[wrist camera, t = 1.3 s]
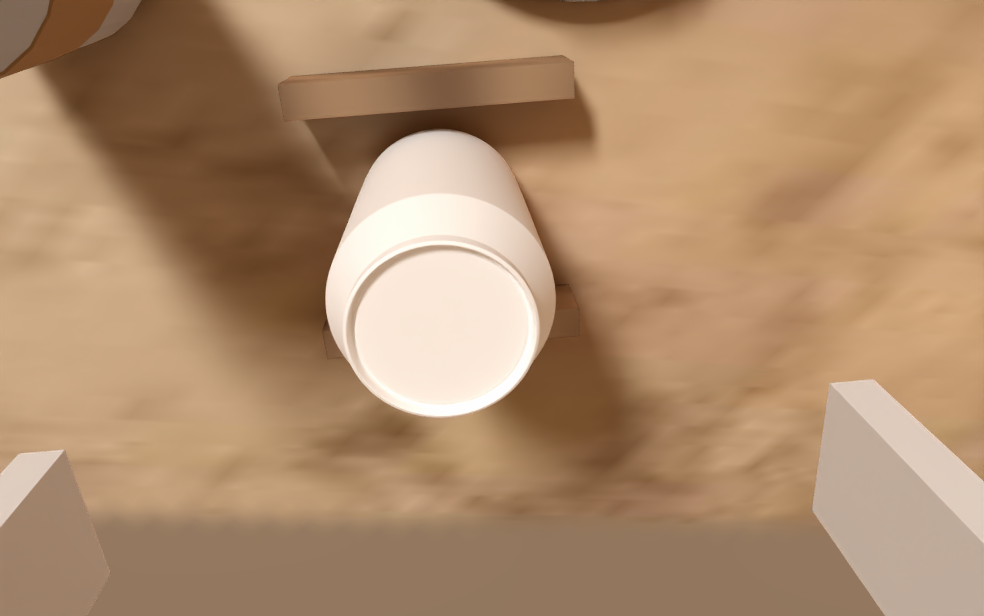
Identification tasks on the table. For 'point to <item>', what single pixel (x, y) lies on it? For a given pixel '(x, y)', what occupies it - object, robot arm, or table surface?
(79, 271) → the table surface
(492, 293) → the beverage can
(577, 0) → the hub collar
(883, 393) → the robot arm
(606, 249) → the table surface
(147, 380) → the table surface
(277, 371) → the table surface
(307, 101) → the walnut cradle
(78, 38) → the coffee cup
